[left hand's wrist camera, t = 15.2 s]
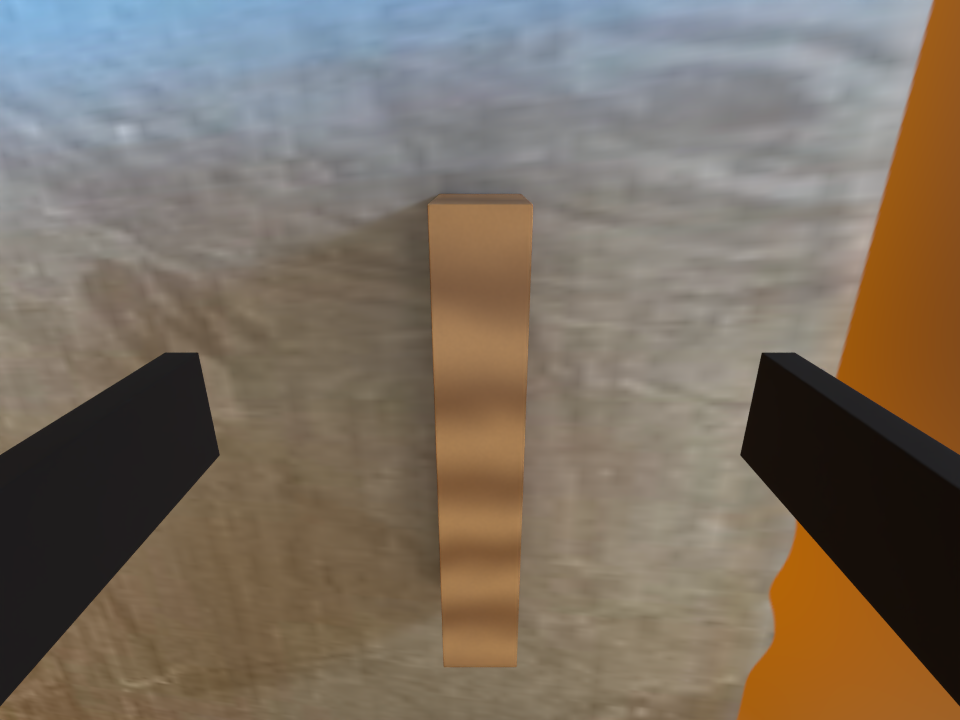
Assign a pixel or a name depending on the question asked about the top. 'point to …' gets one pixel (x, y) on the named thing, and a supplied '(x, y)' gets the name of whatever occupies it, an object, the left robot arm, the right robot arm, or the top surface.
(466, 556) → the bar
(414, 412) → the top surface
